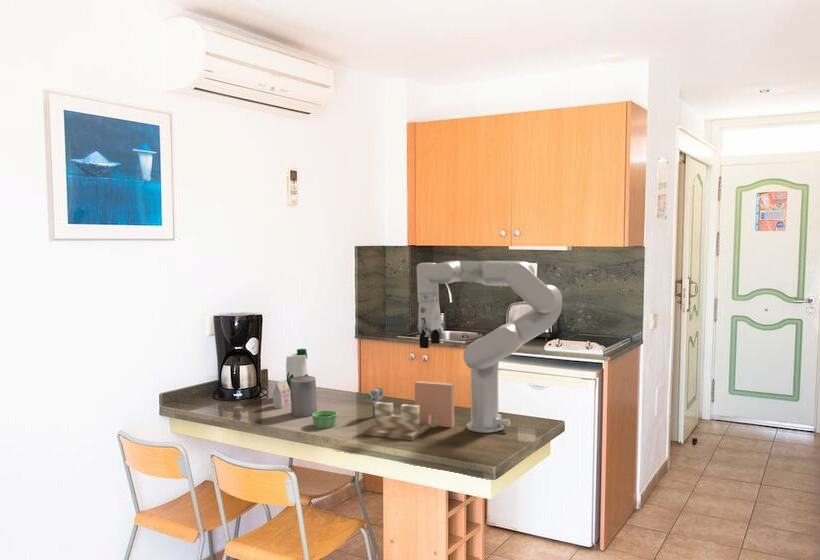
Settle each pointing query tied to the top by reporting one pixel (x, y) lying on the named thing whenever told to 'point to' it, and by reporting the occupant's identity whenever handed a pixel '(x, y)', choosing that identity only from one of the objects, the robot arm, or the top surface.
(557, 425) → the top surface
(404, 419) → the slotted stand
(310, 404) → the pillar candle
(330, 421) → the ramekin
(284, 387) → the white cardboard box
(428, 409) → the salmon pink flat slab
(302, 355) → the milk carton
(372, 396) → the mechanical component
